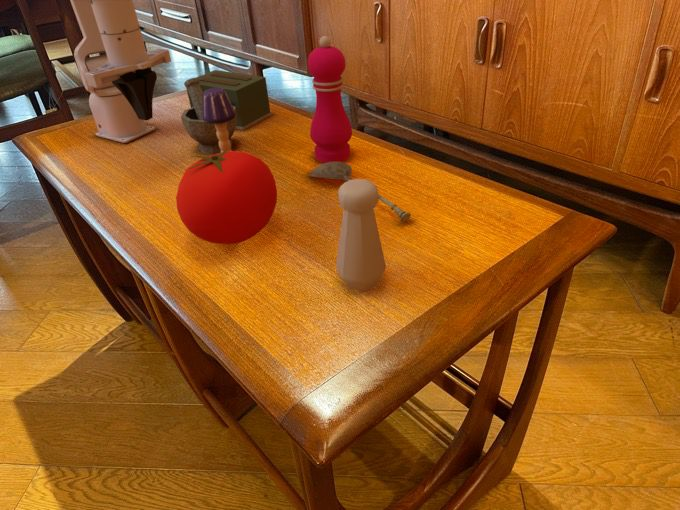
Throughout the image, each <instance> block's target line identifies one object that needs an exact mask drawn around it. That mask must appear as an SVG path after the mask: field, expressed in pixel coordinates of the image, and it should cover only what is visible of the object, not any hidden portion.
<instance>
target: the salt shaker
mask: <svg viewBox="0 0 680 510" xmlns="http://www.w3.org/2000/svg"><path fill="white" fill-rule="evenodd" d="M352 179H353V180H349V181H345V182H343V183H342V184H341V185H340V186H339V188H338V191H337V197H338V204H339V206H340V207H341V209H343V212H342V218H341V219H342V220H341V227H340V234H339V241H338V248H337V254H336V261H335V265H336V272H337V274H338V276H339V277H340V278H341V279H342V281H343V282H344V283H345V284H346V286H347V288H348V290H351V291H356V292H360V293H361V292H362V293H365V292H367V291H369V290H372V289H374V288H377V287H378V285H379V284H380V280H381V279H382V277H383V275H384V272H385V271H386V268H387V264H386V259H385V256H384V251H383V245H382V241H381V236H380V231H379V228H378V223H377V217H376V214H375V208H376V207H377V205H378V203H379V195H380V194H379V189H378V187H377V185H376V183H373V182H372V181H371V180H369V179H365V178H352Z"/></svg>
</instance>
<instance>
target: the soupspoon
mask: <svg viewBox="0 0 680 510" xmlns="http://www.w3.org/2000/svg"><path fill="white" fill-rule="evenodd" d="M352 174H353V168H352V166H351V165H350V164H348V163H346V162H344V161H342V162H337V161H334V162H327V163H322V164H319V165H318V166H316V167H315V168H313V169H312V170H311V172H310V173H309V174H308V177H310V178H311V177H312V178H319V179H331V180H340V181H345V182H347V181H349V180H353V179H354V178H352V177H351V175H352ZM378 201H381V202H382V203H384V204H385V205H387V206H389V208H390V210H391V211H394V213H395V215H397V216H398V218H399V219H400V223H402V224H403V223H407V222H408V221H409V219H410V218H411V216H412V214H411V213H410V212H409V211H407V212H406V211H404V210H403V209H401V208H400V207H399V206H398V205H397V204H394V203H393V202H392V201H390V200H389V199H387V198H385V197H384V196H382V195H381V194H379V199H378Z"/></svg>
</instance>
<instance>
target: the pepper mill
mask: <svg viewBox="0 0 680 510" xmlns="http://www.w3.org/2000/svg"><path fill="white" fill-rule="evenodd" d="M331 43H332V41H331V38H330V37H329V36H327V35H323V36H321V37H320V38H319V46H318V47H316V48H314V49H313V50H312V51H311V52H310V54H309V55H308V58H307V69H308V73H310V75H311V76H312V77H313V78H312V80H311V83H312V89H313V90H314V91H315V96H316V101H315V102H316V105H315V111H314V114H313V116H312V120H311V123H310V129H309V132H310V133H309V136H310V139H311V141H312V142H313V143H314V144H315V146H314V149H313V150H314V157H315V160H317V162H320V163H322V164H324V163H327V162H334V161H337V162H345V161H347V160H348V159H350V157H351V145H350V143H349V141H350V140H351V139H352V136H353V128H352V124H351V120H350V118H349V116H348V114H347V111H346V109H345V107H344V103H343V100H342V89H343V87H344V83H343V81H344V77H343V76H342V75H343V73H344V72H345V70H346V64H347V63H346V58H345V55H344V53H343V52H342V51H341V50H340V49H339V48H338V47H335V46H332V45H331Z"/></svg>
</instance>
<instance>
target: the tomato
mask: <svg viewBox="0 0 680 510" xmlns="http://www.w3.org/2000/svg"><path fill="white" fill-rule="evenodd" d="M227 150H228V149H227ZM227 150H225V151H224V152H222V153H216V154H209V155H208V156H201V155H191V157H193V158H199V159H198V160H197V161H195V162H194V163H193V164H191V165H190V166H188V167H187V168H186V169H185V170H184V172H183V175H182V177H181V179H180V180H179V183H178V186H177V191H176V197H175V201H176V210H177V213H178V215H179V218H180V220H181V222H182V224H183V225H184V226H185V228H186V229H187V230H188V231H189V232H190V233H191V234H193V235H194V236H195V237H197V238H198V239H201V240H203V241H205V242H207V243H208V242H209V243H212V244H218V245H235V244H240V243H243V242H245V241H248V240H250V239H252V238H254V237H255V236H256V235H258V234H259V233H260V232H261V231H262V230H263V229H264V228H265V227H266V226H267V225H268V223H270V220H271V219H272V217H273V214H274V212H275V210H276V206H277V201H278V188H277V183H276V179H275V177H274V174H273V173H272V171H271V169H270V168H269V166H268V165H267V164H266V163H265V162H264V161H263V160H262V159H261V158H260V157H258V156H255V155H253V154H251V153H248V152H245V151H238V150H232V151H229V152H226V151H227Z"/></svg>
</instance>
